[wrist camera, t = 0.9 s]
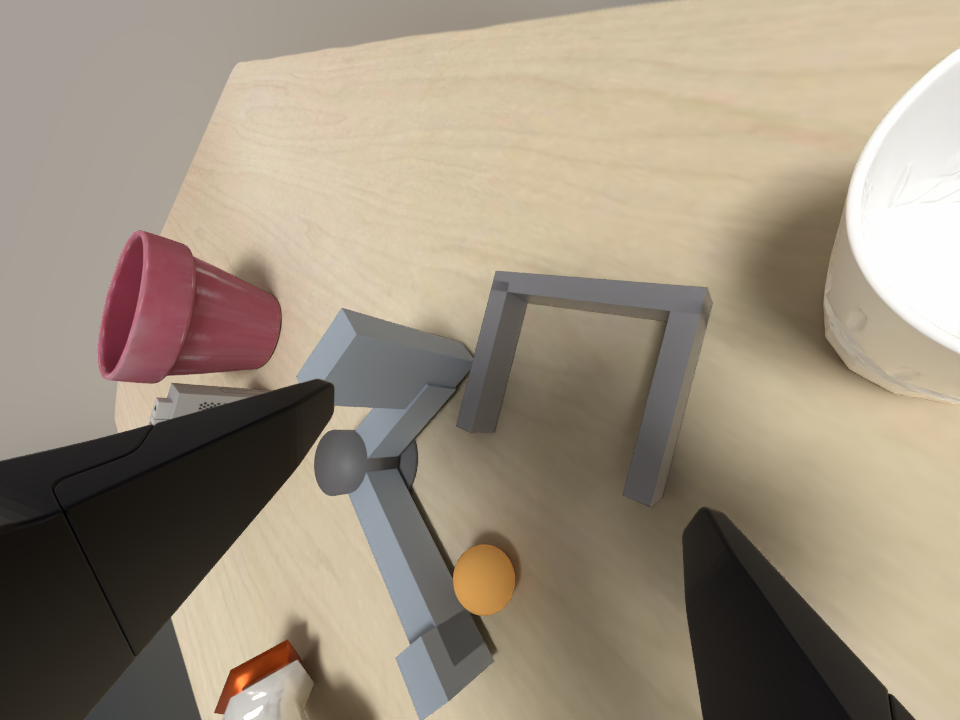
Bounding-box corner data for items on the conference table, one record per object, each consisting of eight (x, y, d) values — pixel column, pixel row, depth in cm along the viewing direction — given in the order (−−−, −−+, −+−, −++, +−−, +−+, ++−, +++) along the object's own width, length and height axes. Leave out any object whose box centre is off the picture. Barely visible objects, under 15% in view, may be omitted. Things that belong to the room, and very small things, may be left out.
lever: (628, 563, 18) (538, 657, 11) (458, 687, 23) (308, 817, 15) (452, 331, 27) (333, 293, 20) (353, 453, 31) (224, 461, 24)
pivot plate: (431, 467, 27) (429, 467, 27) (379, 523, 30) (376, 524, 29) (391, 395, 31) (388, 394, 31) (347, 450, 33) (344, 450, 33)
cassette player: (239, 532, 42) (117, 557, 34) (230, 519, 44) (112, 539, 36) (281, 399, 41) (165, 392, 33) (270, 390, 43) (157, 381, 35)
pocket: (661, 498, 19) (650, 506, 17) (479, 426, 25) (456, 426, 23) (712, 302, 19) (707, 287, 17) (516, 283, 25) (495, 270, 23)
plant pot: (228, 320, 52) (97, 293, 41) (281, 249, 46) (143, 197, 36) (242, 413, 46) (92, 409, 35) (304, 345, 40) (146, 316, 29)
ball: (529, 606, 22) (495, 632, 19) (479, 597, 24) (441, 620, 21) (523, 539, 23) (489, 555, 20) (475, 536, 24) (438, 550, 22)
